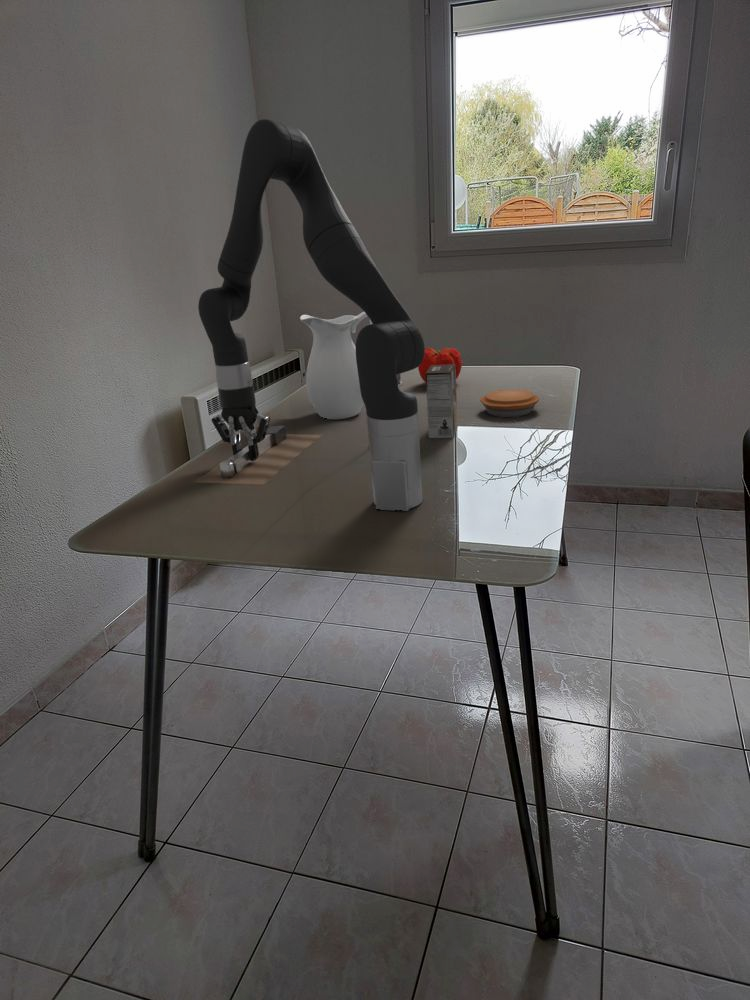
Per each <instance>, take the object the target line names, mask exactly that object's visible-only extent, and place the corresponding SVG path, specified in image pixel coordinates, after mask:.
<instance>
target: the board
mask: <svg viewBox="0 0 750 1000" xmlns="http://www.w3.org/2000/svg"><path fill="white" fill-rule="evenodd" d="M322 435H323V434H291V433H290V434H287V433H286V437H287V438H286V439H284V440H283V441H282V442H280V443H279V444H278V445H273V446H272V447H271V448H269V449H268V450H267V451H265V452H264V453H263V454H261V455H260V456H259V457H257V459H256V460H255V461H252V462H251V463H250V464H248V465H247V466H246V467H244V468H243V469H242V470H240V471H239V472H238V473H235V476H234V477H233V478H229V479H223V478H222V476H221V470H220V464H218V465H217V466H216V467H213V468H212V469H211V470H209V471H208V472H206V473H205V474H204V475H202V476H201V477H199V478H198V479H197V480H195V481H194V483H196V484H197V483H202V484H221V485H222V484H225V485H226V484H228V485H229V484H230V485H248V486H250V485H252V486H264V485H265V484H266V483H267V482H268V481H269V480H271V479H272V478H273V477H274V476H276V475H277V474H278V473H279V472H280V471H282V470H283V469H284V468H286V466H287V465H288V464H290V463H291V462H292V461H293V460H294V459H296V458H297V457H298V456H299V455H301V454H302V453H303V452H304V451H305V450H306V449H307V448H308V447H310V446H311V445H312V444H313V443H314V442H316V441H317V440H318V439H319V438H320V437H321V436H322ZM248 445H249V444H247V445H246V446H245V447H247V446H248ZM245 447H242V449H244V448H245ZM232 456H234V455H231V456H230V457H228V458H227V459H225V460H224V461H227V460H228V459H229V458H231V457H232Z"/></svg>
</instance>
